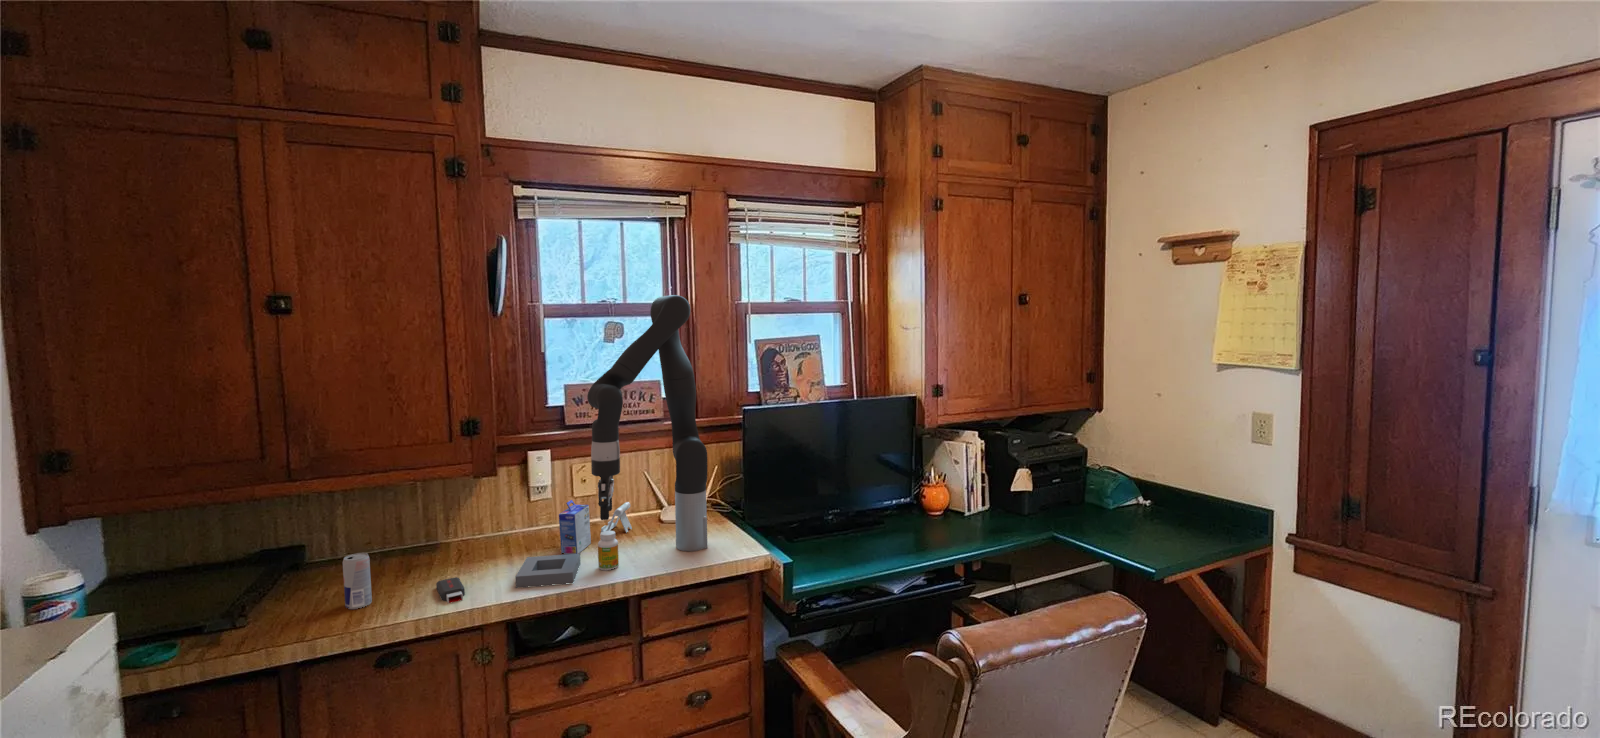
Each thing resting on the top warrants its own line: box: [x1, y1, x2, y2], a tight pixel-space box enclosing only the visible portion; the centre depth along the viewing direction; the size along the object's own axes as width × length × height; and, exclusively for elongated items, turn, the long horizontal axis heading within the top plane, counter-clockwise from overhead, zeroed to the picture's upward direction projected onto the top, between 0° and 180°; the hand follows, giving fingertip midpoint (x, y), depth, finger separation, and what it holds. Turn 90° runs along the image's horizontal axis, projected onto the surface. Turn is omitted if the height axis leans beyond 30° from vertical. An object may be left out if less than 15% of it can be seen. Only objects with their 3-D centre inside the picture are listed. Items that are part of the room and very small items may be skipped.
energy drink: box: [342, 552, 373, 610], centre depth 159 cm, size 5×5×12 cm
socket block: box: [515, 553, 581, 589], centre depth 177 cm, size 14×14×3 cm
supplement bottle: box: [597, 530, 620, 571], centre depth 183 cm, size 5×5×10 cm
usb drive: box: [435, 576, 466, 604], centre depth 166 cm, size 5×12×3 cm, turn 36°
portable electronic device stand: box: [600, 501, 633, 534], centre depth 214 cm, size 9×8×8 cm
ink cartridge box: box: [558, 499, 592, 555], centre depth 197 cm, size 10×6×14 cm, turn 174°
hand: (606, 515), depth 182 cm, fingers open, 8 cm apart
